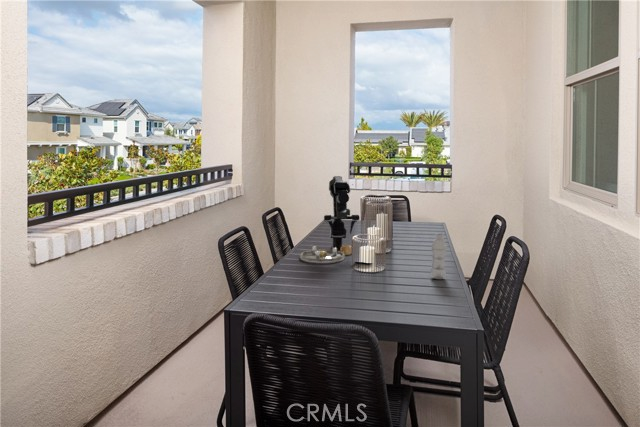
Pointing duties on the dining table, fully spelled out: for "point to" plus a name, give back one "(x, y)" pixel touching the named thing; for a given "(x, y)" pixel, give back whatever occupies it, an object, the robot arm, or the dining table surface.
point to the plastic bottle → (438, 257)
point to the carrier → (322, 256)
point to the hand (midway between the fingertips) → (341, 234)
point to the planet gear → (346, 249)
